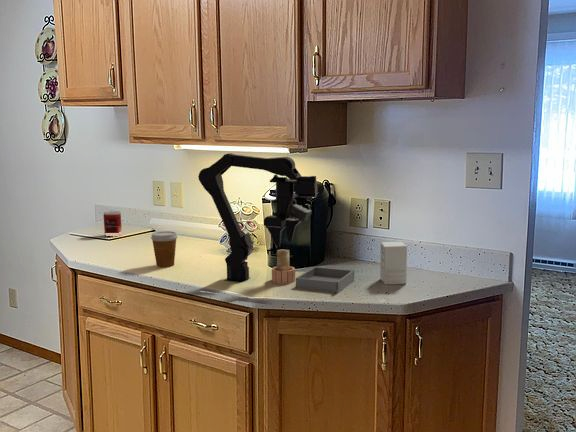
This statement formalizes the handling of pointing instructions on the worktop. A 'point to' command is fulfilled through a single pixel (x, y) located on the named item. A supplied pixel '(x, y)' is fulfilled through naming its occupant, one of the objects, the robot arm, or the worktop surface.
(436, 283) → the worktop surface
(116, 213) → the canned food
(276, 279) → the pink short hollow cylinder
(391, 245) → the supplement box
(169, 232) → the disposable coffee cup
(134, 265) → the worktop surface
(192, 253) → the worktop surface
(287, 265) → the dowel
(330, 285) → the tray
